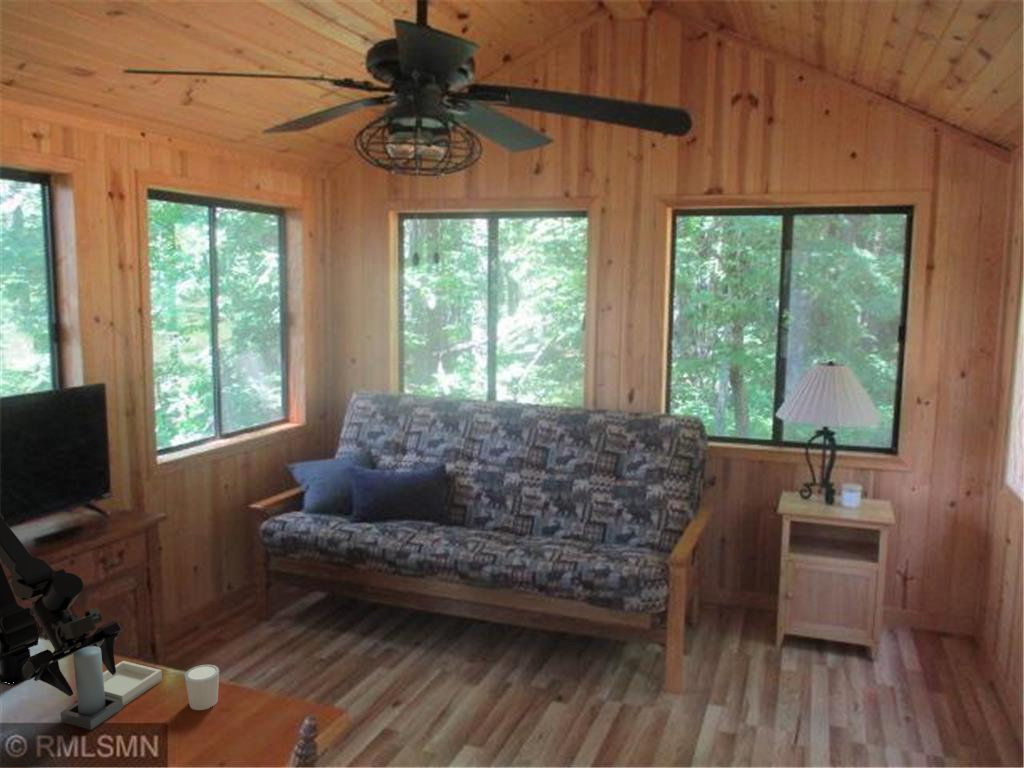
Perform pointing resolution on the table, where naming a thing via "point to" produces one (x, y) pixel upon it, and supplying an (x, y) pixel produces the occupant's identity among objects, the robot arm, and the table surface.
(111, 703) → the socket
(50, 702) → the table surface
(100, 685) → the post
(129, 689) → the tray
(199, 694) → the white cup
